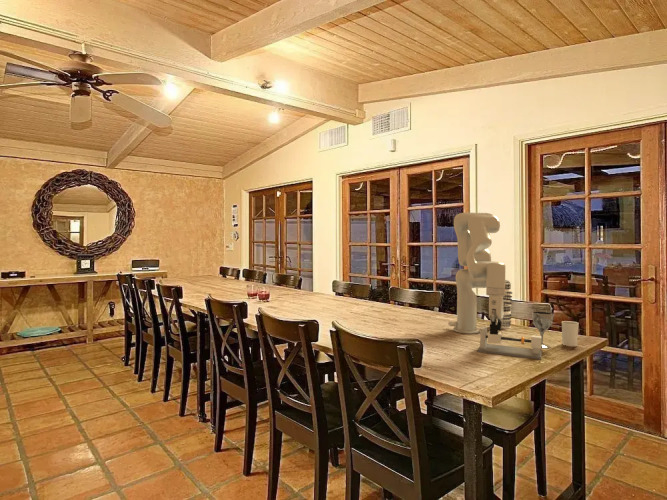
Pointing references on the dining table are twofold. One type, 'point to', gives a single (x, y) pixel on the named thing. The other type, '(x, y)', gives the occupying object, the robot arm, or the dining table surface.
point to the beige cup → (569, 333)
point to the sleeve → (494, 338)
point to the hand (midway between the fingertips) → (495, 332)
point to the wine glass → (542, 323)
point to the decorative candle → (506, 306)
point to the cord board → (509, 350)
